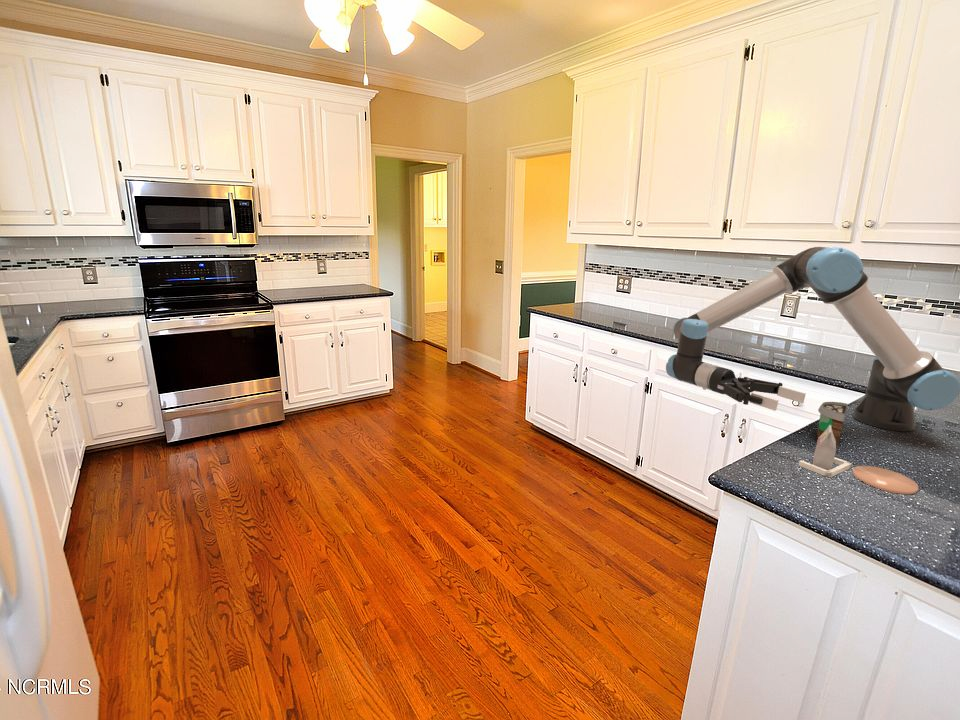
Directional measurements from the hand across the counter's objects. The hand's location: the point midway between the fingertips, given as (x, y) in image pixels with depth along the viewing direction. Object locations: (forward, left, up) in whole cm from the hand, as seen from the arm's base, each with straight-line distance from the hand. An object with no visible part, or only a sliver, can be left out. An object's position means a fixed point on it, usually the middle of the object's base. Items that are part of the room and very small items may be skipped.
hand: (790, 401), depth 125 cm
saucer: (-5, +21, -14) cm, 26 cm away
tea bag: (0, +10, -14) cm, 17 cm away
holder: (0, +10, -14) cm, 17 cm away
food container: (-20, +2, -14) cm, 25 cm away
